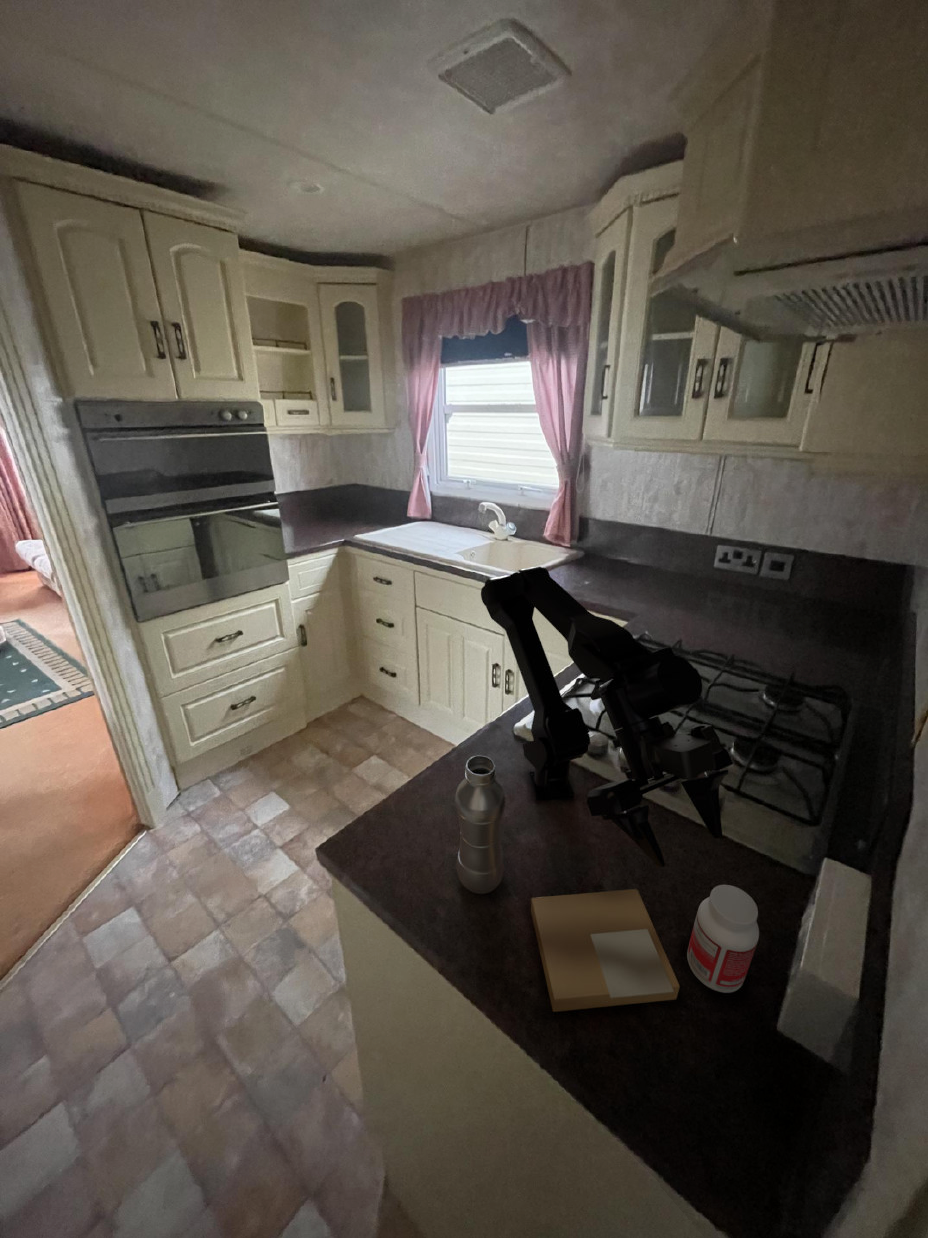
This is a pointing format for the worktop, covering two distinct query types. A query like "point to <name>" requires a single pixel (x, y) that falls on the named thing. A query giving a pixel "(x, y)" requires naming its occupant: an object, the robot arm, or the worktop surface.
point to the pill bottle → (724, 938)
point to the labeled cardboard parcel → (601, 951)
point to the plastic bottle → (480, 826)
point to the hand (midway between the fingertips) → (691, 851)
